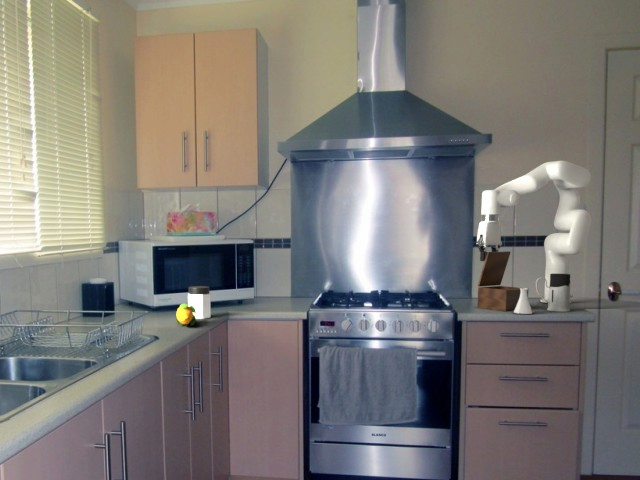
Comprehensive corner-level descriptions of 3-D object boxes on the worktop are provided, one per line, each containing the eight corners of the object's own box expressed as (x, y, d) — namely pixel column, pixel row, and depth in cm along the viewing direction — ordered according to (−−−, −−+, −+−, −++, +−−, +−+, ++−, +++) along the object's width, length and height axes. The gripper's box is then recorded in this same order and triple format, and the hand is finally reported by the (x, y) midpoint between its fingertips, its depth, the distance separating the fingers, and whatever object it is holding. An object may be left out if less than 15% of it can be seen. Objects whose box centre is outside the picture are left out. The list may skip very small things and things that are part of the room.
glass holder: (574, 311, 268) (576, 274, 266) (539, 311, 268) (541, 275, 266) (564, 308, 277) (565, 273, 275) (530, 309, 277) (531, 273, 275)
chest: (527, 309, 277) (528, 288, 276) (505, 311, 270) (506, 290, 269) (499, 305, 289) (499, 285, 288) (477, 307, 283) (478, 287, 282)
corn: (194, 300, 247) (196, 306, 227) (196, 320, 248) (198, 328, 228) (175, 302, 246) (174, 308, 227) (176, 322, 247) (176, 330, 227)
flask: (529, 312, 267) (530, 287, 266) (535, 314, 260) (536, 289, 259) (510, 312, 268) (511, 287, 267) (516, 314, 260) (517, 289, 259)
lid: (510, 251, 282) (501, 247, 286) (488, 252, 276) (479, 248, 280) (500, 285, 288) (491, 280, 292) (478, 286, 281) (469, 282, 286)
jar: (199, 315, 264) (199, 285, 262) (214, 317, 258) (214, 286, 257) (183, 317, 257) (183, 287, 255) (199, 319, 252) (198, 288, 250)
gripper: (496, 219, 290) (495, 260, 292) (469, 219, 282) (467, 261, 284) (511, 219, 283) (509, 260, 285) (483, 218, 275) (481, 261, 277)
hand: (488, 260), depth 284 cm, fingers closed on lid, 5 cm apart
